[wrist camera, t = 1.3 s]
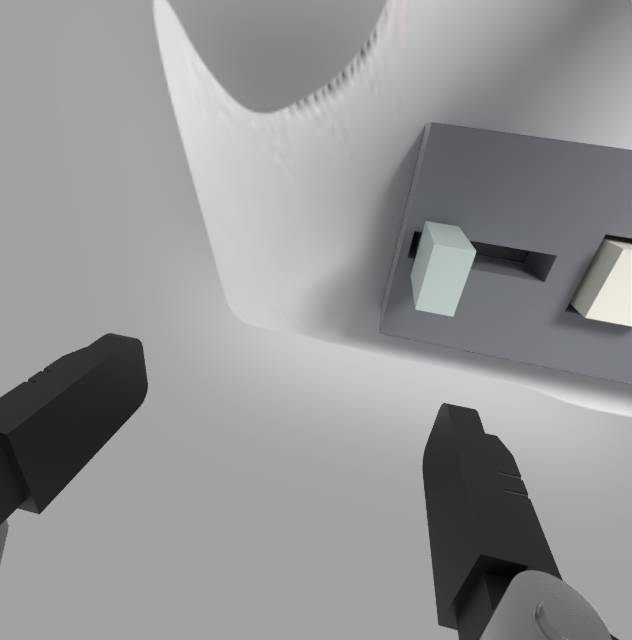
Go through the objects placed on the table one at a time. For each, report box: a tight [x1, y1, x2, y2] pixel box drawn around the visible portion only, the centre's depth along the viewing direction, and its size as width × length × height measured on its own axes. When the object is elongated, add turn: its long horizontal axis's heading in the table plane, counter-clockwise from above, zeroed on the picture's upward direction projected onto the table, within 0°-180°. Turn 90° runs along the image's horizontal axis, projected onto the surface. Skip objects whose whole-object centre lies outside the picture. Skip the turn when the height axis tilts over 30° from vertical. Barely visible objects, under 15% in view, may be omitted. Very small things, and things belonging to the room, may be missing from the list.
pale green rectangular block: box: [411, 221, 477, 317], centre depth 22 cm, size 4×2×10 cm, turn 173°
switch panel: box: [379, 123, 632, 384], centre depth 24 cm, size 14×28×4 cm, turn 82°
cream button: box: [570, 235, 632, 326], centre depth 22 cm, size 4×4×4 cm
